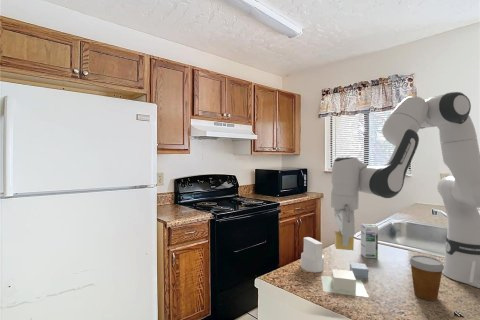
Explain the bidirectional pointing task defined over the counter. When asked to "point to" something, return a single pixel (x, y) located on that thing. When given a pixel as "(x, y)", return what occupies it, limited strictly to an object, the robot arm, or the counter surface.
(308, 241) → the cylinder with rectangular tab
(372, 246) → the syrup box
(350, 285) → the base brick
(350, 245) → the mustard brick
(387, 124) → the robot arm
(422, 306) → the counter surface
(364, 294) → the plate
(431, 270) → the disposable coffee cup
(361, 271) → the slate brick
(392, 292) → the counter surface
